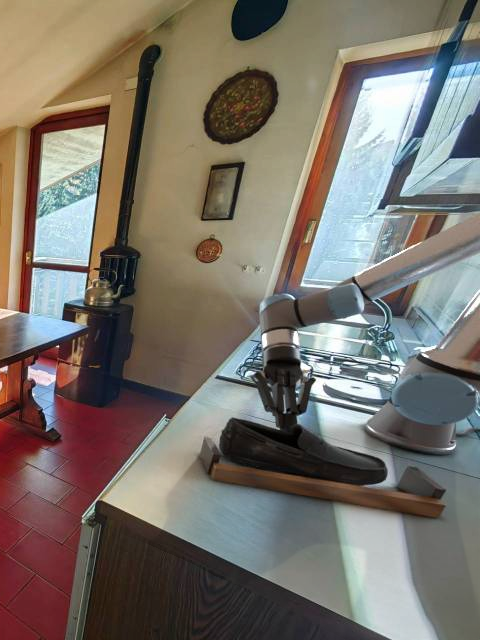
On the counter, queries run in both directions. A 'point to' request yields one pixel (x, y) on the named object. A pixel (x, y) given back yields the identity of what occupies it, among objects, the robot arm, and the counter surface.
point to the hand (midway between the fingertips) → (287, 441)
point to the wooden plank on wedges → (334, 486)
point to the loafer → (298, 453)
